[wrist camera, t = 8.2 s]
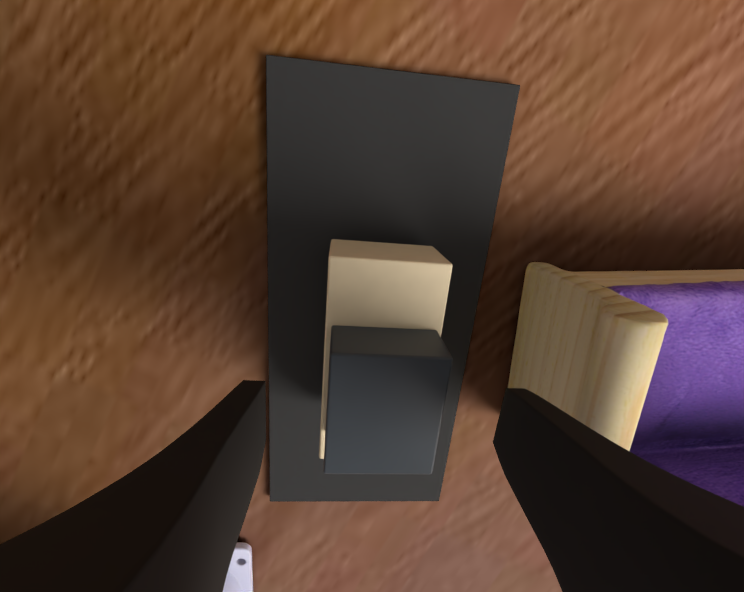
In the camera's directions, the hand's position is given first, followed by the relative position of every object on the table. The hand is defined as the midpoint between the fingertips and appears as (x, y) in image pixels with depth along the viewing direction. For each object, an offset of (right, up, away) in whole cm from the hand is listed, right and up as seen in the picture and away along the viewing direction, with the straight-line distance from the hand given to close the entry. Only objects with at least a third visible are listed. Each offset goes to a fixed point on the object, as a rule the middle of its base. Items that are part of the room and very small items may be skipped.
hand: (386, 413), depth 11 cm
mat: (0, +2, +5) cm, 6 cm away
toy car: (0, +2, +5) cm, 6 cm away
